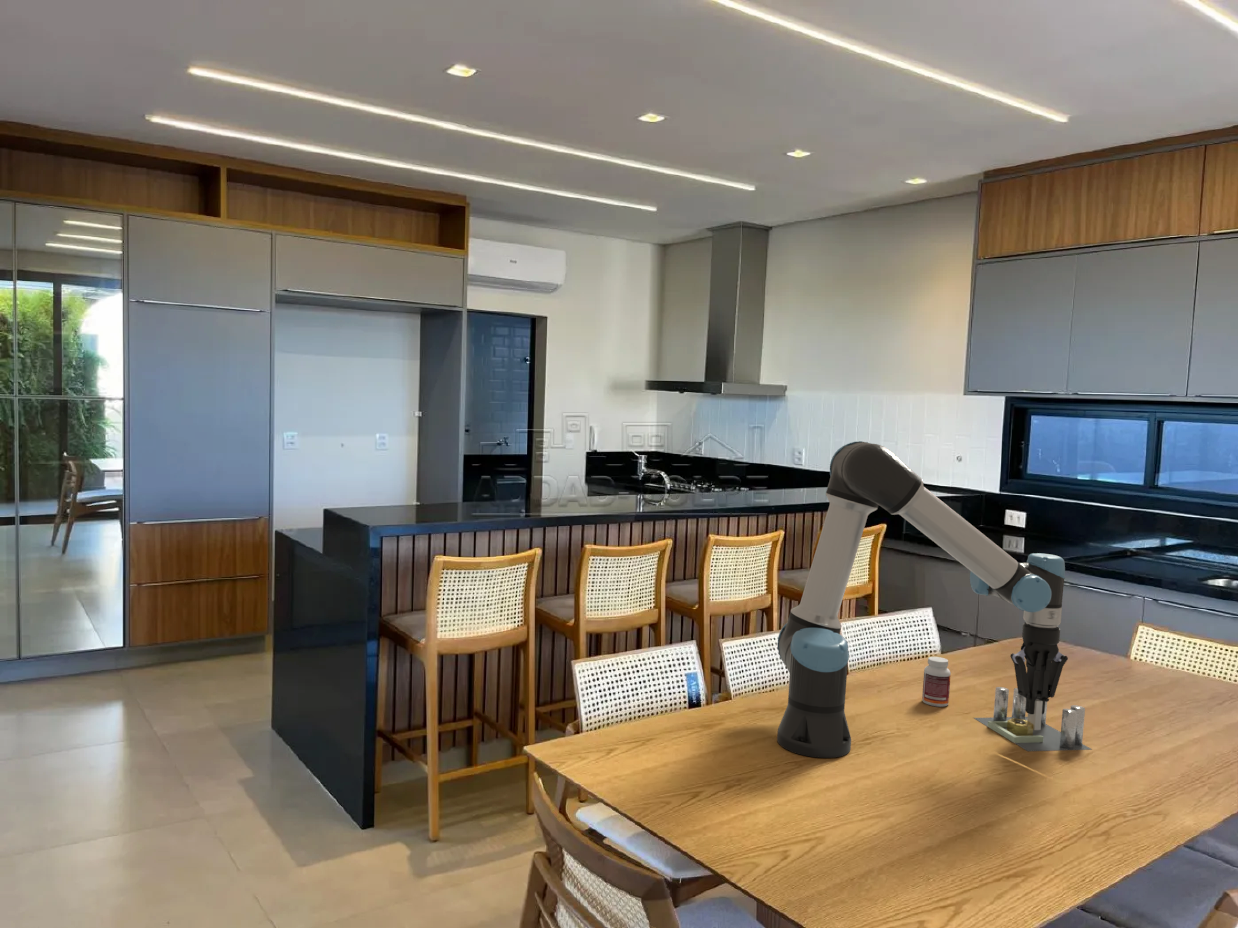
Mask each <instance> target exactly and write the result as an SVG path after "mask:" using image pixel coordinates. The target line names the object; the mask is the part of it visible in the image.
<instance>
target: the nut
mask: <svg viewBox="0 0 1238 928" xmlns="http://www.w3.org/2000/svg"><path fill="white" fill-rule="evenodd" d="M1007 731H1009V732H1011V733H1012V734H1014V735H1016V736H1032V735H1033V724H1032V723H1030V722H1029V721H1027V720H1023V719H1016V718H1012V719H1010V720H1008V721H1007Z"/></svg>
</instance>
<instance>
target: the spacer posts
mask: <svg viewBox="0 0 1238 928" xmlns="http://www.w3.org/2000/svg"><path fill="white" fill-rule="evenodd" d="M1009 692H1010V689H1009V688H1006V687H1003V686H996V687H995V692H994V704H993V716H992V717H993V721H1007V717H1008V708H1009V706H1008V704H1009V694H1010V693H1009ZM1012 697H1013V698H1012V707H1011V708H1012V710H1011V711H1012V712H1011V717H1012V718H1016V719H1023V720H1025V717H1026V713H1027V712H1026V710H1025V709H1026V698H1025V697H1023V696H1021V695H1020V694H1019V693H1018V688H1017V687H1015V688H1013V696H1012ZM1047 707H1048V702H1046V701H1045V712H1044V714H1042V717H1041V727H1044V726H1045V724H1046V721H1047V711H1048V708H1047ZM1085 714H1086V708H1085V707H1084V706H1082V705H1076V704H1075V705H1074V704H1073V705H1072V704H1071V705H1070V708H1062V713H1061V725H1060V727H1061V728H1060V732H1061V736H1060V747H1061V748H1064V749H1068V750H1067V751H1074V750H1073V749H1074V745H1076V746H1081V745H1082V744H1083V741H1084V740H1083V737H1084V728H1085V727H1084V725H1085Z"/></svg>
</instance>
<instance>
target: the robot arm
mask: <svg viewBox="0 0 1238 928" xmlns="http://www.w3.org/2000/svg"><path fill="white" fill-rule="evenodd" d="M829 463H830V464H829V475H830V478H829V482H828V484H827V487H826V488H827V489H826V492H825V496H826V498H827V499H828V501H829V506H828V509H827V512H826V515H825V519H824V521H823V526H822V530H821V533H820V535H819V539H818V543H817V545H816V548H815V549H816V550H815V553H814V555H813V559H812V563H811V566H810V569H809V573H808V575H807V579H806V582H805V585H804V589H803V593H802V596H801V600H800V603H799V604H798V605H797V606H795V607H793V608H791V609H790V612H789V616H788V618H787V622H786V623H785V624H783V626H782V628H781V629H780V632H779V634H778V636H777V651H778V652H777V653H778V655H779V658H780V660H781V661H782V663H783V664H784V666H785V667H786V668H787V671H788V673H789V681H788V697H787V706H786V709H785V711H784V714H783V716H782V718H781V721H780V723H779V726H778V728H777V739H776V741H777V743H778V745H779V746H781V747H782V748H784V749H785V750H787V751H789V752H791V753H793V754H798V755H801V756H807V757H811V758H820V759H824V758H825V759H831V758H839V757H844V756H845V755H847V754H850V752H851V749H852V748H851V746H852V737H851V732H850V730H849V729H850V728H849V725H848V721H847V717H846V713H845V704H846V695H847V694H846V692H847V691H846V690H847V681H848V680H847V679H848V677H847V676H848V666H849V665H848V662H849V658H850V653H849V644H848V641H847V639H846V638H845V637H844V636H843V635H842V634H840V633H841V629H842V627H843V626H842V624H841V622H840V620H839V618H838V615H839V612H840V608H841V605H842V602H843V599H844V595H845V592H846V589H847V586H848V582H849V580H850V579H849V578H850V576H851V573H852V569H853V566H854V563H855V561H856V560H855V558H856V556H857V554H858V553H857V552H858V550H859V546H860V543H861V539H862V537H863V533H864V530H865V526H866V523H867V519H868V516H869V515H870V514H871V513H873V512H875V511H877V510H878V508H879V506H880V507H881V508H882V509H884V510H885V511H887V512H888V514H890V515H894V516H895V515H899V516H901V517H902V518H903V519H904V520H905V521H907V522H908V523H909V524H911V525H912V526H913V527H915V528H916V529H917V530H918V531H920V533H922V534H923V535H924V536H926V537H927V538H928V539H929V540H931V541H932V542H934V543H935V544H936V545H937V546H938V547H940V548H941V549H942V550H943V551H945V552H946V553H948V554H949V555H950V556H951V557H952V558H954V559H955V560H956V561H957V562H959V563H960V564H961V565H963V566H964V567H965V568H966V569H967V570H969V582H970V587H971V589H972V591H973V593H975V594H977V595H981V596H986V597H988V596H995V597H997V598H1000V599H1002V600H1003V601H1005V602H1008V603H1009V604H1010V605H1013V606H1014V607H1016V608H1017V610H1021V611H1022V612H1023V618H1022V619H1023V620H1024V622H1023V623H1022V632H1021V638H1022V642H1023V643H1022V644H1021V646H1020V650H1019V651H1018V652H1016V653H1010V659H1011V661H1012V663H1013V665H1014V666H1013V667H1014V672H1015V674H1014V675H1015V678H1016V679H1015V680H1016V688H1018V693H1019V694H1020V695H1021V696H1023V697H1025V698H1026V709H1025V710H1026V713H1027V717H1028V718H1027V721H1029V722H1030V723H1032V724H1033V729H1034V730H1041V717H1042V714H1044V712H1045V701H1046V702H1047V703H1048V702H1050V699H1051V698H1054V697H1055V695H1056V692H1057V688H1058V685H1059V681H1060V678H1061V675H1062V671H1063V668H1064V666H1065V664H1066V663H1067V661H1068V658H1069V657H1068V656H1067V655H1065V654H1062V653H1061V652H1060V651H1059V646H1058V644H1059V643H1060V639H1061V637H1060V636H1061V628H1060V627H1059V626H1060V625H1061V623H1062V611H1063V610H1062V609H1063V595H1064V585H1065V579H1066V574H1065V573H1066V567H1065V566H1066V564H1065V560H1064V559H1063V557H1061V556H1058V555H1055V554H1049V553H1040V552H1039V553H1038V552H1037V553H1034V552H1033V553H1030V554H1028V555H1027V560H1026V562H1018V561H1017V560H1016V559H1015V558H1013V557H1012V556H1011V555H1010V554H1009V553H1007V552H1006V551H1005V550H1004V549H1003V548H1001V547H1000V546H999V545H997V544H996V543H995V542H994V541H993V540H992V539H990V538H989V537H987V536H986V535H985V534H984V533H982V532H981V531H980V530H979V529H977V528H976V527H975V526H974V525H972V524H971V523H970V522H969V521H968V520H966V519H965V518H964V517H963V516H961V514H959V513H958V512H956V511H955V510H954V509H952V508H951V507H950V506H949V505H948V504H946V503H945V502H944V501H942V500H941V499H940V498H938V497H937V495H935V494H934V493H933V492H931V491H930V490H929V489H928V488H926V487H925V486H924V480H923V478H922V477H920V476H919V474H917V473H916V472H915V471H913V470H912V469H911V468H910V467H909V466H908V465H906V464H905V463H904V462H903V460H901V458H899V456H898V455H896V454H895V453H894V452H893V451H892V450H890V449H888V448H887V447H885V445H881V444H877V443H871V442H870V443H869V442H868V441H863V440H859V441H852V442H849V443H847V444H844V445H842V446H841V447H840V448H838V449H837V451H835V452H834V454H833V456H832V457H831V461H830V462H829Z"/></svg>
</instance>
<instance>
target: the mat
mask: <svg viewBox="0 0 1238 928" xmlns="http://www.w3.org/2000/svg"><path fill="white" fill-rule="evenodd" d="M993 717H994V716H991V717H973V719H974V720H975V721H978V723H980V724H982V725H984V726H985V727H987V726H988V721H993ZM1027 718H1028V716H1025V720H1027ZM1010 719H1012V716H1007V721H1008V720H1010ZM1003 728H1004V729H1006V730H1007V727H1003ZM989 729H991V728H989ZM991 730H992V729H991ZM994 732H996V731H994ZM996 733H997V732H996ZM997 734H999V733H997ZM999 735H1000V736H1002V735H1001V734H999ZM1037 735H1041V736H1043V742H1029V743H1014V742H1012V743H1014V744H1015V745H1016V746H1018V747H1020V748H1022V749H1023V750H1025V751H1026V752H1050V751H1053V752H1055V751H1056V752H1057V751H1069V750H1068V749H1064V748H1061V747H1060V736H1061V730H1058V729H1056V728H1054V727H1052V726H1050V725H1048V724H1045V726H1044V727H1041V730H1034V729H1033V735H1032V736H1037ZM1002 737H1004V736H1002ZM1004 738H1005V737H1004ZM1007 740H1008V741H1010V740H1009V739H1007ZM1085 750H1086V751H1089V750H1093V749H1092V748H1091V747H1088V746H1087V745H1085V744H1083V743H1082V745H1081V746H1076V745H1074V749H1073V750H1072V751H1085Z"/></svg>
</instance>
